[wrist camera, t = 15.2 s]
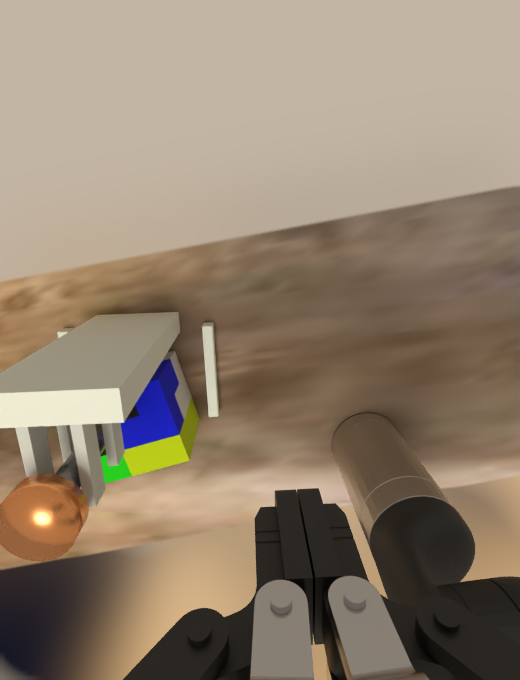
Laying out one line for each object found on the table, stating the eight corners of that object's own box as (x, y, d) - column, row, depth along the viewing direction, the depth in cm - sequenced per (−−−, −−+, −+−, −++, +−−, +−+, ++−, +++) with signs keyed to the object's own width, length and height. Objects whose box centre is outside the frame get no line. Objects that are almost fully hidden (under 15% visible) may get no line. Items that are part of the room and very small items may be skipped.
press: (219, 409, 53) (198, 551, 30) (80, 415, 52) (-51, 565, 29) (212, 310, 49) (183, 385, 26) (62, 316, 49) (-103, 397, 26)
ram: (144, 432, 40) (82, 559, 25) (94, 434, 40) (1, 563, 25) (138, 387, 39) (69, 491, 24) (87, 389, 39) (-17, 495, 24)
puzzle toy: (174, 350, 50) (158, 379, 41) (199, 418, 53) (189, 460, 44) (100, 371, 51) (67, 405, 41) (129, 437, 54) (103, 483, 44)
